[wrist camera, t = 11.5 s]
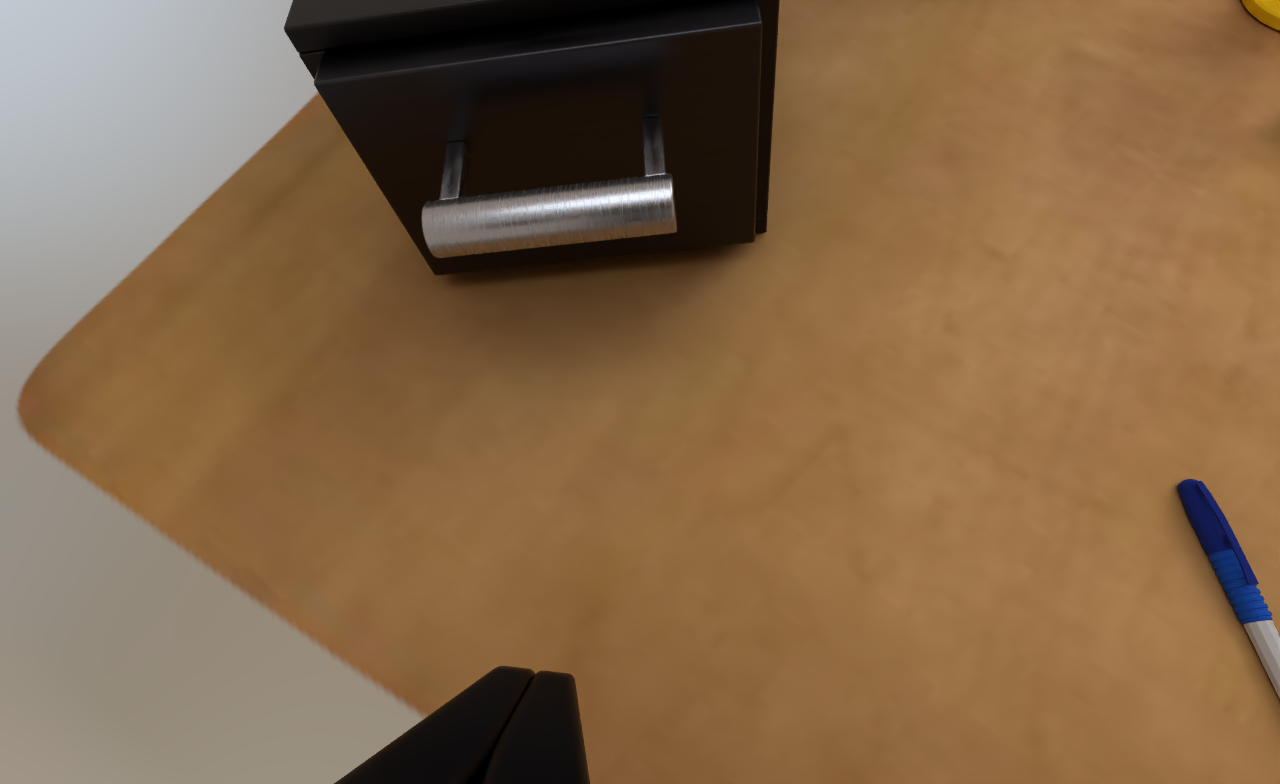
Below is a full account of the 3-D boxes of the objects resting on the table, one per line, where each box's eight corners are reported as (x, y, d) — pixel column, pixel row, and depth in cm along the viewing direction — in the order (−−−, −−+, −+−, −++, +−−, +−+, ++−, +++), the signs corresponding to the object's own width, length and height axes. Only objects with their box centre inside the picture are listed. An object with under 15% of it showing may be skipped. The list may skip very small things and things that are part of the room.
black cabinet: (766, 232, 27) (782, -44, 18) (432, 267, 28) (281, 29, 19) (729, -11, 34) (727, -296, 25) (465, 26, 35) (368, -232, 26)
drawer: (767, 333, 24) (782, 131, 16) (422, 365, 25) (280, 191, 17) (721, 2, 32) (716, -233, 25) (467, 38, 33) (386, -176, 26)
